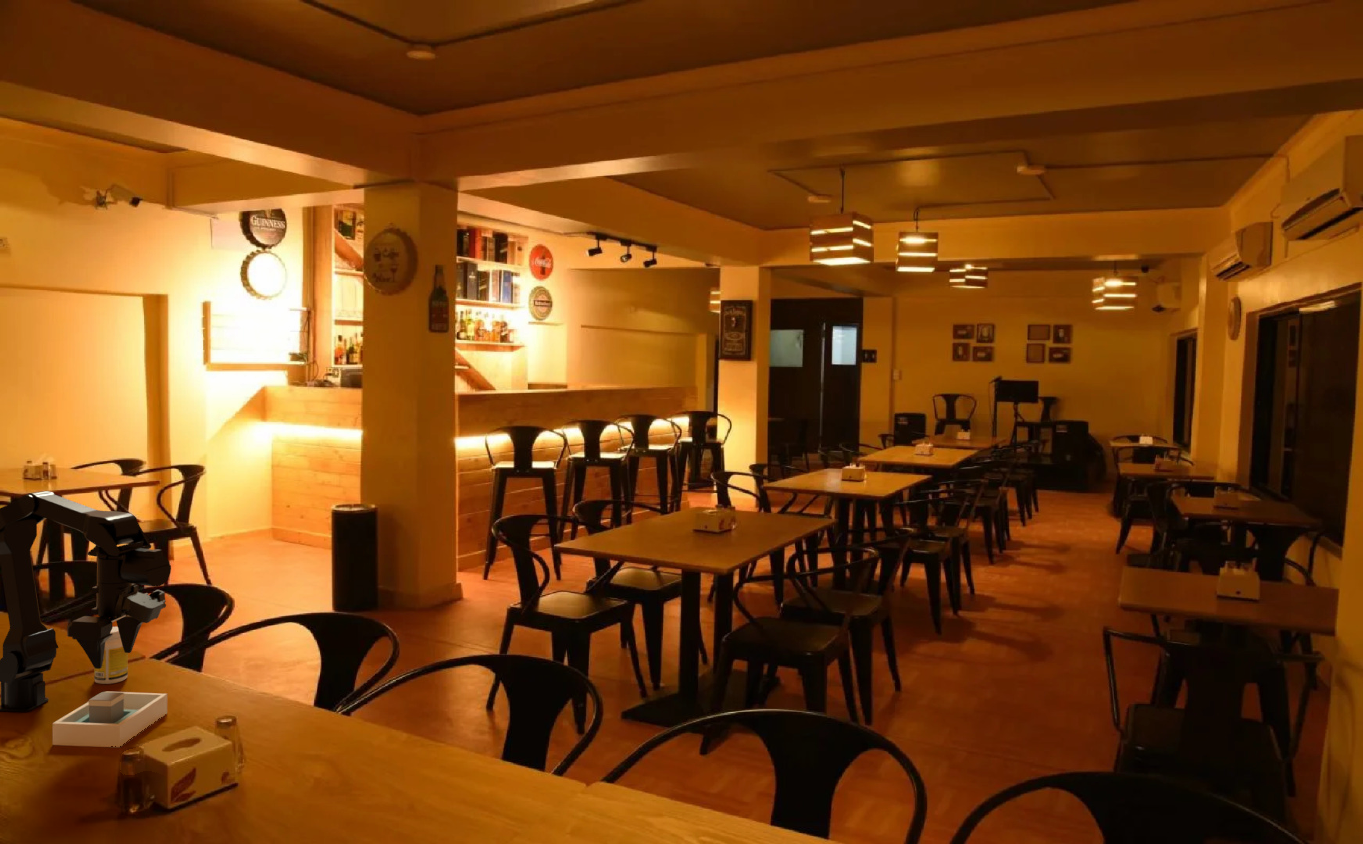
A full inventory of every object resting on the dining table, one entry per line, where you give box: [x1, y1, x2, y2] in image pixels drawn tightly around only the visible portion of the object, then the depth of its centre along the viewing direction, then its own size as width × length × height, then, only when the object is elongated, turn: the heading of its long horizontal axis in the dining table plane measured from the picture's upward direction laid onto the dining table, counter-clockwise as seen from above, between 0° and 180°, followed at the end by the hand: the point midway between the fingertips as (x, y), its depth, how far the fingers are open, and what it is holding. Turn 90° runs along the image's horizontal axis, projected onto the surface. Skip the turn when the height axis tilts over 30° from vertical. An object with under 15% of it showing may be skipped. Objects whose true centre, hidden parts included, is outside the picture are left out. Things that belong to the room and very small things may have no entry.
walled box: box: [52, 691, 168, 748], centre depth 176 cm, size 12×16×4 cm
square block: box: [88, 691, 124, 724], centre depth 174 cm, size 4×4×6 cm
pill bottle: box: [93, 626, 129, 685], centre depth 200 cm, size 6×6×11 cm
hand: (113, 660), depth 179 cm, fingers open, 9 cm apart
